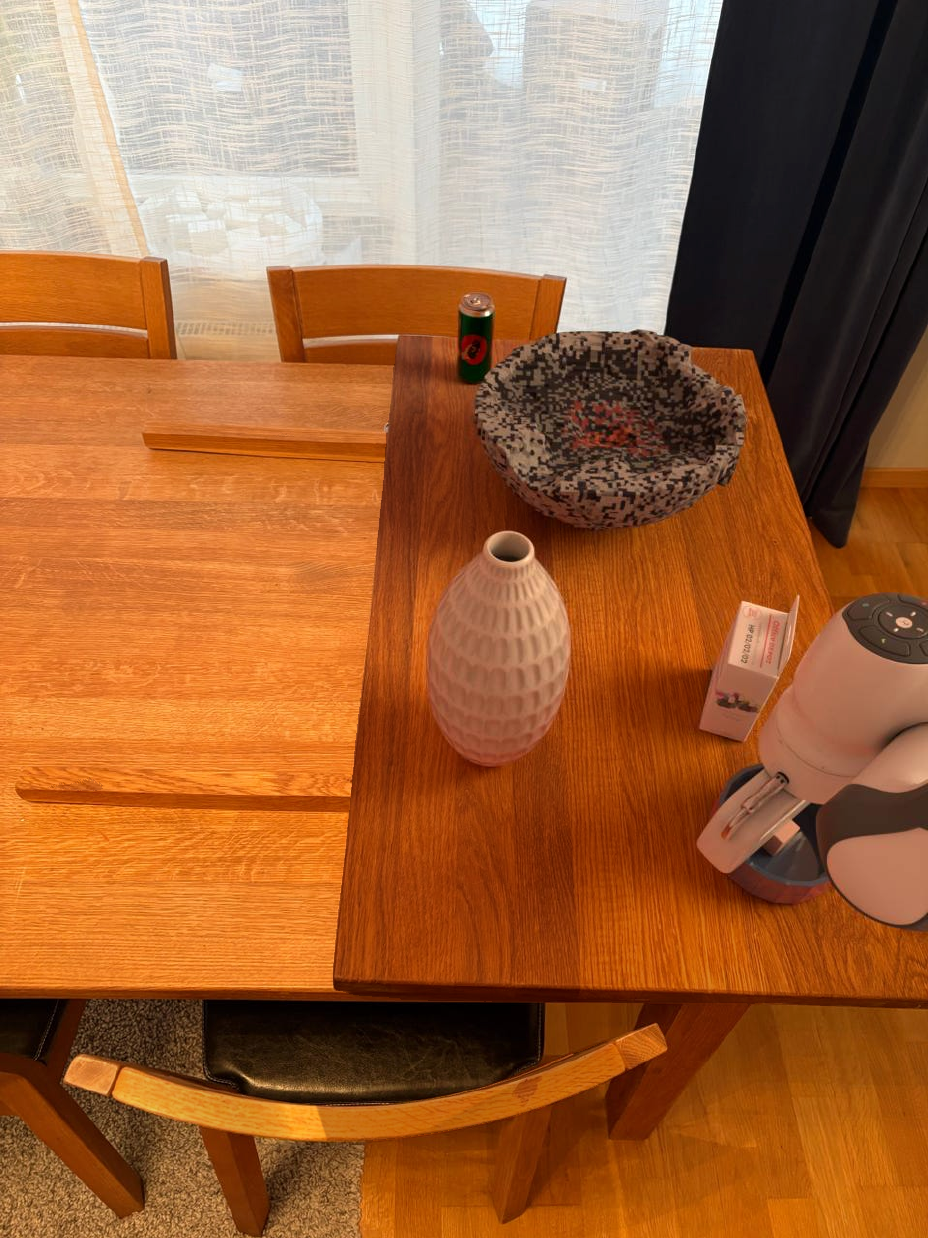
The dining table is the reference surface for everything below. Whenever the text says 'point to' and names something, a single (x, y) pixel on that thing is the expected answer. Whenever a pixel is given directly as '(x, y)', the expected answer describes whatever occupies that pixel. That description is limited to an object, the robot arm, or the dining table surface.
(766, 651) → the ink box
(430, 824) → the dining table surface
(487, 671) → the vase
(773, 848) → the eraser
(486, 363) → the soda can
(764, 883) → the blue bowl
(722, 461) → the bowl
